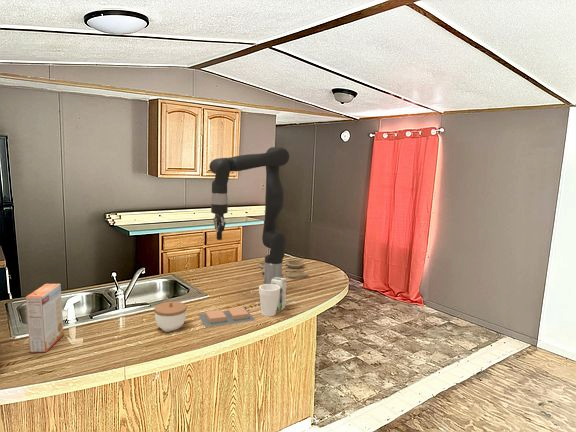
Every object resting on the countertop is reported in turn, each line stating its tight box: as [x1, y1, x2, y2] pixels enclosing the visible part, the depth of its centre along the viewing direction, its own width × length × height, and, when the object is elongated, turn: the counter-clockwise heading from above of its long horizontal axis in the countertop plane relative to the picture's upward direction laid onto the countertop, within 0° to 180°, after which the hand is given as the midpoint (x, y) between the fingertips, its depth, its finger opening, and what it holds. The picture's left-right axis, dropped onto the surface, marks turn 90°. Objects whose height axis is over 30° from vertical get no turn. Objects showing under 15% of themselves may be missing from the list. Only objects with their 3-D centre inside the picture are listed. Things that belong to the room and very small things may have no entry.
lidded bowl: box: [153, 301, 188, 333], centre depth 166 cm, size 13×13×11 cm
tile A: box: [227, 306, 249, 321], centre depth 180 cm, size 7×2×8 cm
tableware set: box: [257, 259, 309, 279], centre depth 255 cm, size 35×29×4 cm
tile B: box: [205, 309, 226, 324], centre depth 176 cm, size 7×2×8 cm
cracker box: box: [25, 283, 65, 353], centre depth 148 cm, size 14×6×21 cm, turn 5°
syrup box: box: [271, 277, 287, 312], centre depth 192 cm, size 6×6×14 cm
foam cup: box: [258, 283, 280, 317], centre depth 184 cm, size 10×9×13 cm
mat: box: [197, 308, 256, 328], centre depth 178 cm, size 22×14×1 cm, turn 114°
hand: (219, 239), depth 190 cm, fingers closed
